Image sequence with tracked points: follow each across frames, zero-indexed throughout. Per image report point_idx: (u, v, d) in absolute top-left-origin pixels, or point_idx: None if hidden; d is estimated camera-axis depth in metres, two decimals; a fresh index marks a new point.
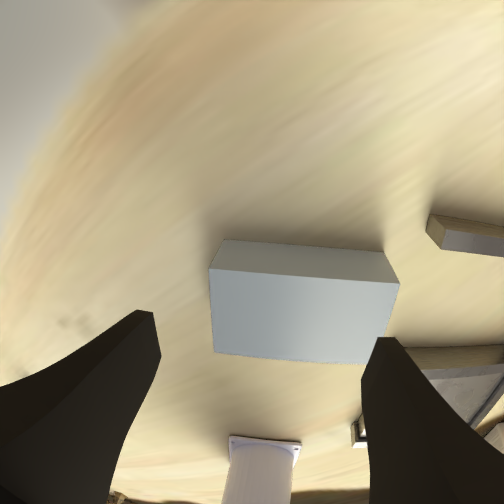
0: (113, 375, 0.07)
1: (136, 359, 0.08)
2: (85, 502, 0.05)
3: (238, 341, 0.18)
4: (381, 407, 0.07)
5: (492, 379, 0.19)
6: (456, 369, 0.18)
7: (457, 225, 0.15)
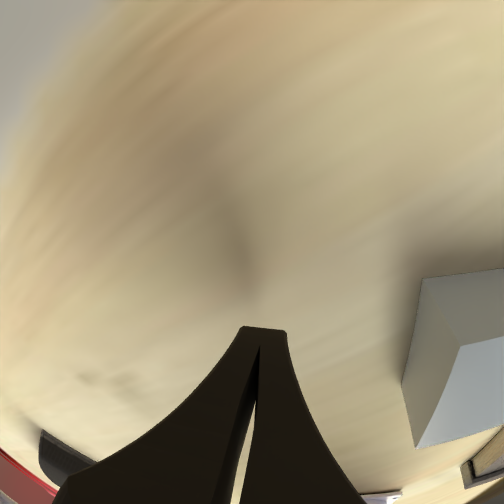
0: (245, 403, 0.07)
1: (254, 380, 0.08)
2: None
3: (457, 427, 0.08)
4: (256, 400, 0.08)
5: None
6: None
7: None
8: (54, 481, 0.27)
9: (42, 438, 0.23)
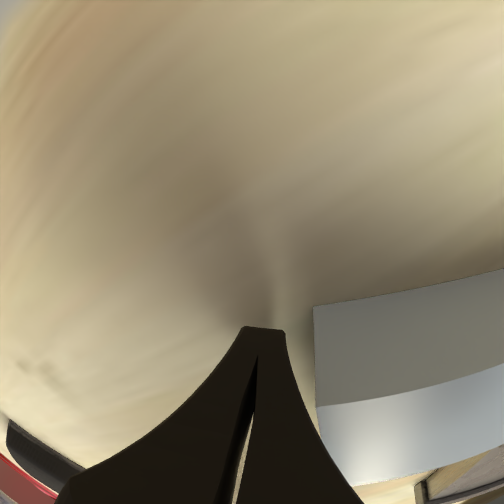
0: (246, 403, 0.07)
1: (255, 381, 0.08)
2: None
3: (373, 473, 0.08)
4: None
5: None
6: None
7: None
8: (29, 473, 0.26)
9: (9, 427, 0.22)
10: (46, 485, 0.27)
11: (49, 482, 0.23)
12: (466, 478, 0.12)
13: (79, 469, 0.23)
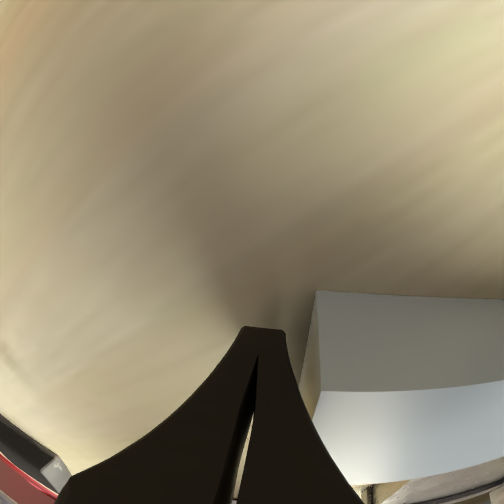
0: (246, 403, 0.07)
1: (255, 381, 0.08)
2: None
3: None
4: None
5: None
6: None
7: None
8: (11, 460, 0.27)
9: None
10: (27, 473, 0.28)
11: (25, 467, 0.24)
12: (410, 490, 0.13)
13: (49, 453, 0.24)
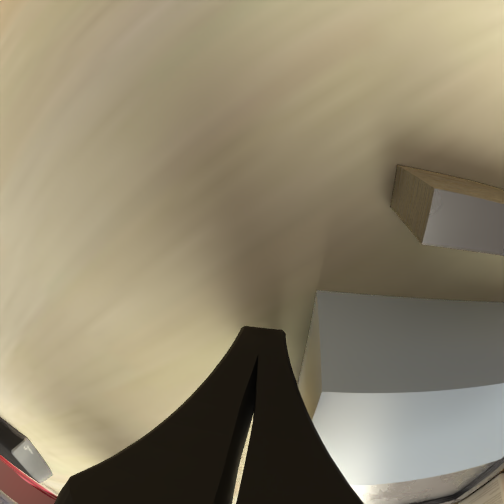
0: (246, 403, 0.07)
1: (256, 381, 0.08)
2: None
3: None
4: None
5: None
6: None
7: (464, 186, 0.06)
8: None
9: None
10: None
11: (2, 451, 0.25)
12: None
13: (20, 435, 0.24)
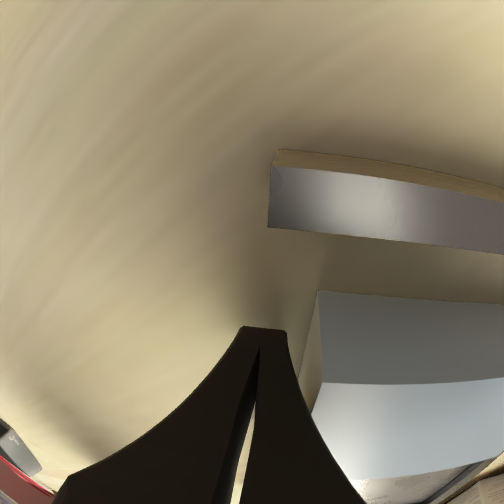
0: (245, 403, 0.07)
1: (254, 380, 0.08)
2: None
3: None
4: (256, 401, 0.08)
5: None
6: None
7: (338, 163, 0.06)
8: None
9: None
10: None
11: None
12: None
13: (5, 426, 0.25)
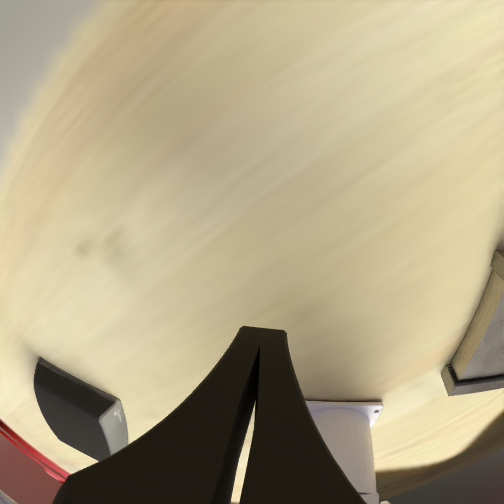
0: (245, 403, 0.07)
1: (254, 380, 0.08)
2: None
3: None
4: (256, 400, 0.08)
5: None
6: None
7: None
8: (56, 431, 0.32)
9: (38, 364, 0.28)
10: (74, 445, 0.33)
11: (77, 428, 0.29)
12: (488, 344, 0.17)
13: (110, 398, 0.28)
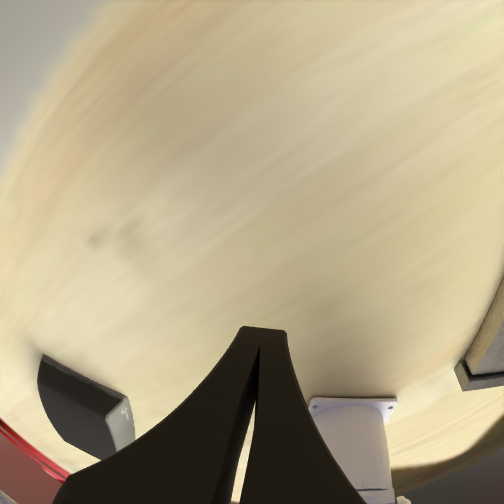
0: (245, 403, 0.07)
1: (254, 380, 0.08)
2: None
3: None
4: (256, 401, 0.08)
5: None
6: None
7: None
8: (60, 431, 0.31)
9: (42, 362, 0.27)
10: (79, 445, 0.32)
11: (82, 428, 0.28)
12: (502, 339, 0.17)
13: (116, 395, 0.28)
